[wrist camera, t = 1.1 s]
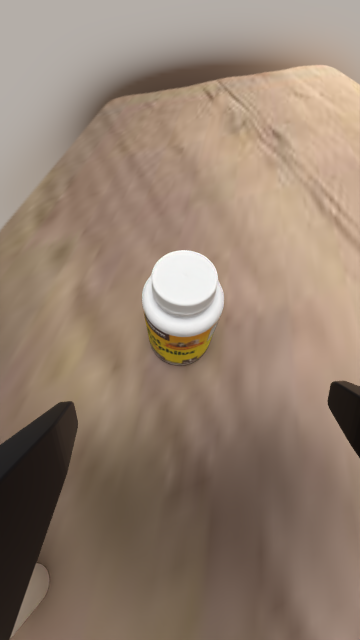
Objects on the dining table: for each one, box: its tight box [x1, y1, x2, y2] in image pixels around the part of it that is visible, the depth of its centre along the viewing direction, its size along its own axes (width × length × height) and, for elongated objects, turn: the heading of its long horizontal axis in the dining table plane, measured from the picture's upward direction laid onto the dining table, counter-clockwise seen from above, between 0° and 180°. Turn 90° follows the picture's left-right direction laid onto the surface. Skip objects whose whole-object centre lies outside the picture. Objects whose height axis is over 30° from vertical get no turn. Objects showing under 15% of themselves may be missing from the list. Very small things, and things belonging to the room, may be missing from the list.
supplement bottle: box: [142, 250, 224, 365], centre depth 20 cm, size 6×6×10 cm
